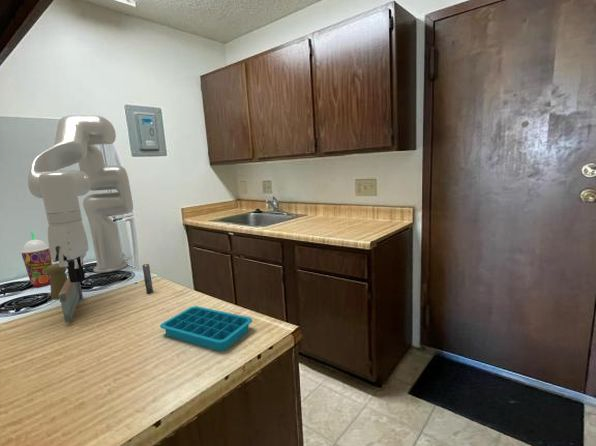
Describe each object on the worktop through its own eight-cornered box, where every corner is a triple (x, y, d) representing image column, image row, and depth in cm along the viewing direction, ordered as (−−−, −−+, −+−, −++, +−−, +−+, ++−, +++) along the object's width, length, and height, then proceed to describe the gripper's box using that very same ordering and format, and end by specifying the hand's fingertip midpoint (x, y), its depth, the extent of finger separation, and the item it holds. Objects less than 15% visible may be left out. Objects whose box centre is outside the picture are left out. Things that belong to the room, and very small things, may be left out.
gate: (74, 298, 100) (69, 274, 99) (80, 297, 101) (75, 273, 99) (64, 323, 83) (58, 294, 82) (71, 321, 84) (65, 293, 83)
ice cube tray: (195, 315, 86) (193, 305, 86) (255, 329, 77) (254, 318, 76) (159, 337, 76) (157, 325, 76) (223, 356, 67) (222, 343, 66)
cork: (77, 291, 109) (71, 261, 107) (62, 299, 103) (56, 266, 101) (61, 292, 109) (55, 261, 107) (46, 299, 103) (39, 267, 101)
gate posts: (76, 298, 103) (71, 270, 101) (154, 290, 105) (150, 263, 103) (72, 301, 101) (66, 272, 99) (151, 293, 103) (147, 265, 101)
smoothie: (32, 290, 113) (20, 235, 109) (26, 286, 118) (14, 233, 114) (60, 282, 119) (49, 230, 116) (53, 278, 124) (42, 229, 121)
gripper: (67, 214, 93) (79, 272, 97) (30, 224, 78) (46, 293, 82) (93, 212, 93) (104, 270, 97) (62, 222, 79) (76, 290, 83)
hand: (78, 281), depth 90 cm, fingers closed
